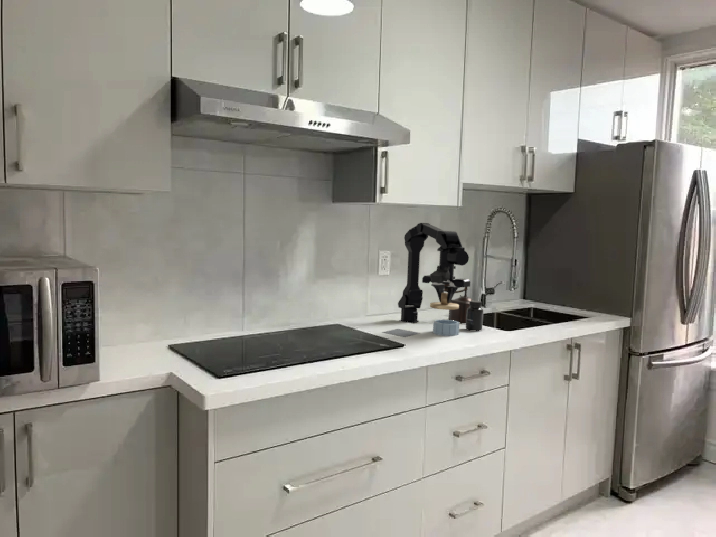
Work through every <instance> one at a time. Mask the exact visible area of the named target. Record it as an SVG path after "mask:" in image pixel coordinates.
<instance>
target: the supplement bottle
mask: <svg viewBox="0 0 716 537" xmlns="http://www.w3.org/2000/svg"><path fill="white" fill-rule="evenodd" d="M482 303H483V302H482V301H480V300H474V301H470V307H468V308H467V314H466V324H465V330H467V329H468V330H467V331H470V330H476V331H475V332H480V331H479V330H481V331H482V330H483V322H484V308H482V306H483V305H482ZM477 330H478V331H477Z"/></svg>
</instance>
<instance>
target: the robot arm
mask: <svg viewBox="0 0 716 537" xmlns="http://www.w3.org/2000/svg"><path fill="white" fill-rule="evenodd" d="M429 237H430V238H433V239H434V240H435V242H436V243H437V244H438V245H439V246H440V247H438V248H437V252H439V263H438V264H439V265H437V267H436V270H434V271H433V272H431V273H430V274H429V275H423V277H422V279H421V283H423V284H430V283H431V284H430V285H431V286H432V287H433V288H434V289H435V290H436V294H437V297H438V300H439V301H438V302H440V303H441V293H445V292H444V286H445V284H442V283H447V284H450V286H447V289H448V292H447V293H448V296H447V303H448V304H449V303H450V301H451V300H453V297H454V295H455V294H456V293H455V292H456V291H458V289H459V288H465V287H467V288H469V287H471V280H470V279H469V278H456V276H454V275H455V274H454V273H455V271H454V270H456V266H466V264H468V262H469V258H470V256H469V253H468V252H467V251H466V249H465V247H464V246H463V244H462V242H461V240H460V237H459V234H458V232H457V231H456V230H455V231H453V230H444V229H441V228H439V227H437V226H434V225H432V224H431V223H429V222H419V223H417V224H416V226H414V227H412V228H410V229H409V230H408V231H407V232H406V233H405V234H404V245H405V248H406V250H407V253H408V254H407V255H408V257H407V277H406V278H407V279H406V286H404V289H403V290H402V296H401V298H400V299H399V300H398V302H397V306H398V308H399V309H401V312H400V319H399V320H398V321H399V322H403V323H409V324H415V323H419V320H418V315H419V314H418V313H419V312H418V309H421V306H422V302H423V298H424V297H423V292H424V291H423V289H421V287H420V285H419V279H420V258H421V257H420V256H421V251H422V250H423V248H424V247H425V241H426V240H427V239H428V238H429Z"/></svg>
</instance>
